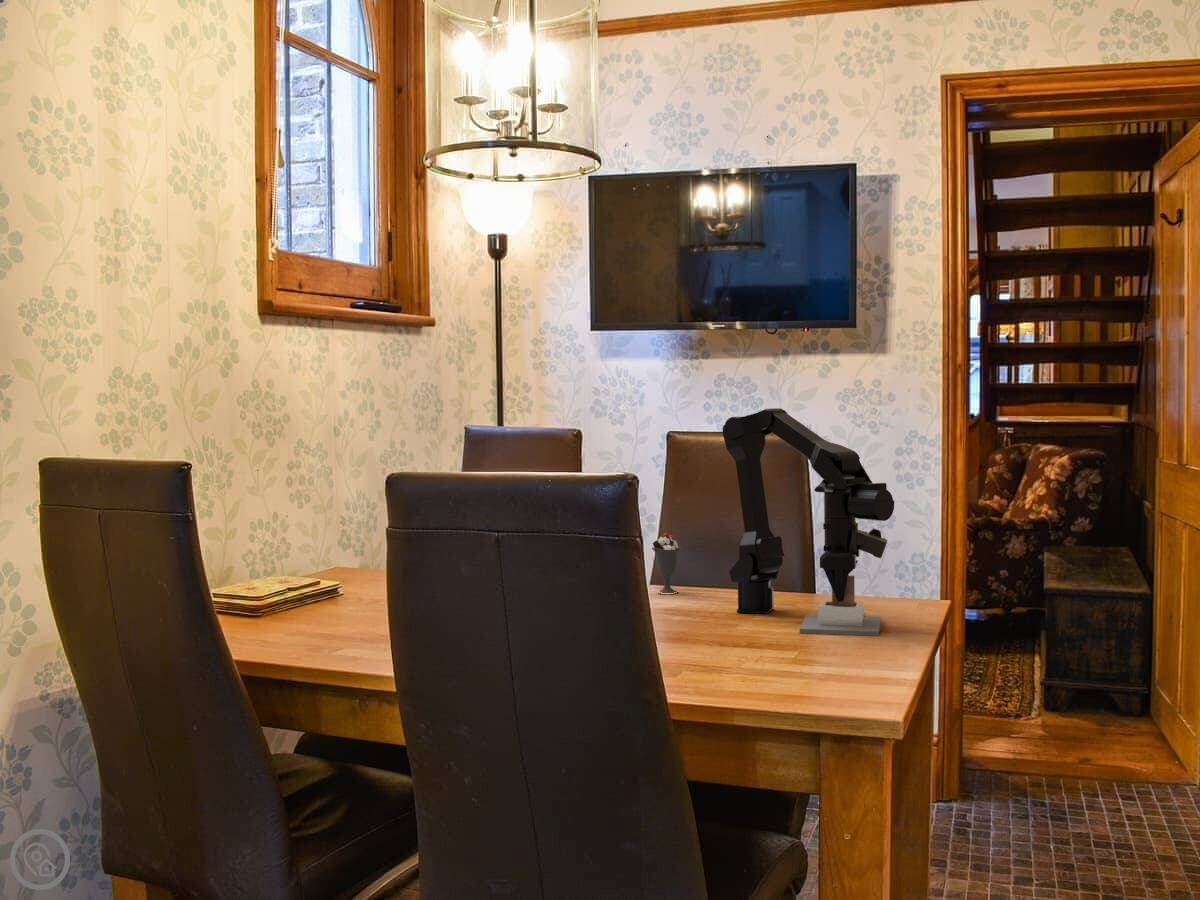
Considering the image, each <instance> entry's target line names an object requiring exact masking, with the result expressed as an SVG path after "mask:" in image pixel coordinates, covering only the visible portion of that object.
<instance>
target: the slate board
mask: <svg viewBox="0 0 1200 900" xmlns="http://www.w3.org/2000/svg"><path fill="white" fill-rule="evenodd" d="M881 619H882V617H881V616H873V615H864V621H863V626H833V625H818V614H813V613H812V614H808V613H807V614H806V615H805V616H804V620H803V621H802V623H801V625H800V628H799V634H814V635H815V634H816V635H842V636H843V635H844V636H868V637H869V636H870V637H872V636H873V637H880V629H881Z"/></svg>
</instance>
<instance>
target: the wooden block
mask: <svg viewBox="0 0 1200 900" xmlns="http://www.w3.org/2000/svg"><path fill="white" fill-rule="evenodd" d="M855 578H856V577H855V575H849V576H848V578H847V584H846V589H845V595H844V600H843V601H842V602H840V601H837V599H836V597H835V594H834V592H833V590H832V589H831V601H832V606H855V601H856V599H855V598H856V596H855V595H856V594H855V593H856V590H855V586H856V585H855V584H856V583H855V582H856V580H855Z"/></svg>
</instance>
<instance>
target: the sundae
mask: <svg viewBox="0 0 1200 900" xmlns="http://www.w3.org/2000/svg"><path fill="white" fill-rule="evenodd" d="M672 528H673V525H669V528H668V530H667V532H664V533H663V534H662V535H661V536H660V537H659V538H658V539H657V540H655V541H653V542H652V545H653V546H652V547H651V550H653V552H654V554H655V560H656V561H655V563H656V567H657V572H658V573H659V575H660V576H662V577H663V579H664V586H663V588H662V589H661V590H659V591H660V592H662V593H674V592H676V591H677V590H675V589H673V588H672V587H671V583H670V580H671V577H672V576H674V575H675V573H676V571H677V566H678V559H679V551H680V550H681V549H682V547H680V546H679V544H678V542H677V541H676V540H675V536H674V535H673V534H672V533H673V532H672V531H671V529H672ZM669 531H670V534H669V533H668V532H669Z"/></svg>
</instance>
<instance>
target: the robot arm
mask: <svg viewBox="0 0 1200 900" xmlns="http://www.w3.org/2000/svg"><path fill="white" fill-rule="evenodd" d="M771 434H773V435H775V436H777V437H778V438H779V439H781V440H782V441H784V443H786V444H788V445H789V446H791V447H792V448H793V449H794V450H796V451H797V452H799V453H800V454H801V455H803V456H804V457H806V459H808V461H809V462H810V466H811V468H812V470H814V471H815V472H816V474H817V475H818V476H820V477H821V479H822V480H821V482H820V483H819V484H818V485H816V487H815V488H814V489H813V490H814V492H815V493H823V504H824V506H823V508H824V509H823V513H824V514H823V515H824V516H823V518H824V520H823V521H824V522H823V525H822V526H823V530H824V533H823V535H824V544H823V552H822V554H821V555H820V556H819V568H820V569H823V571H824V573H825V575H826V577H827V580H828V582H829V585H830V587H831V591H832V590H833V592H834V594H835V597H836V599H837V601H840V602H842V601H843V600H844V595H845V589H846V584H847V578H848V576H850V574H851V572H853V571H854V570H855V569H856V568H857V564H858V560H857V558H859V557H860V551H862V552H864V553H868V554H870V555H872V556H873V557H876V558H878V559H882V557H883V554H884V552H885V549H886V547H887V544H888V539H886V538H885V537H882V531H881V530H879V529H877V528H875V527H874V528H872V529H871V530H870V531H866V530H865V531H864V530H861V529H859V523H858V522H857V520H856V519H858V520H866V521H867V520H868V521H869V520H870V521H880V522H886V521H888V520H889V519H890V518H891V517H892V516H893V514H894V509H895V500H894V498H893V495H892V493H891V492H890V491H889V490H888V489H887V488H888V487H887V486H888V485H887V483H886V482H875V483H874V482H872V480H871V477H870V476H869V475H868V473H867V471H866V470H865V468H864V466H863V465H862V463H861V461H860V459H861V458H860V455H859V454H858V453H857V452H856V451H855V450H853V449H851V448H849V447H848V448H847V447H846V446H843V445H841V444H838V443H836V442H835V443H834V442H831V441H828V440H826V439H824V438H822V437H821V436H820V435H819V434H817V433H815V432H814V431H812V430H811V429H810V428H808V427H806V425H804V424H802V423H801V422H800V421H798V420H797V419H795V418H794V417H792V416H791V415H790V414H788V412H787V411H786V410H785V409H783V408H779V407H778V408H764V409H763V410H760V411H758V412H755V413H751V414H748V415H745V416H732V417H728V419H727V420H726V421H725V423H724V424H723V425H722V435H723V436H722V437H723V440H724V444H725V448H726V450H727V451H728V453H729V454H730V456H731V457H732V459H733V460H734V462H735V467H736V474H737V476H736V477H737V483H738V490H739V497H740V505H741V513H742V519H743V520H742V521H743V528H744V529H743V530H744V532H743V536H742V539H741V541H740V543H739V554H738V555H739V557H738V558H739V559H738V560H737V561H736V562H735V564H734V565H733V566H732V567H731V568H730V569H729V571H728V572H729V573H728V574H729V576H730V580H731V582H733V583H737V606H738V607H737V609H736V613H739V614H740V613H741V614H742V613H747V614H749V613H750V614H769V613H770V612H771V610H773V608H774V607H775V605H774V603H775V602H774V587H773V586H771V580H777V577H778V575H779V571H780V568H781V566H783V563H784V562H783V558H784V557H785V553H784V551H783V550H784V549H783V539H782V537H781V536H780V535H779V536H778V535H777V536H775V535H774V533H773V532H772V531H771V529H770V524H769V517H768V509H767V500H766V494H765V488H764V480H763V472H762V463H761V456H762V454H763V451H764V449H765V446H766V437H767V436H769V435H771Z"/></svg>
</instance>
